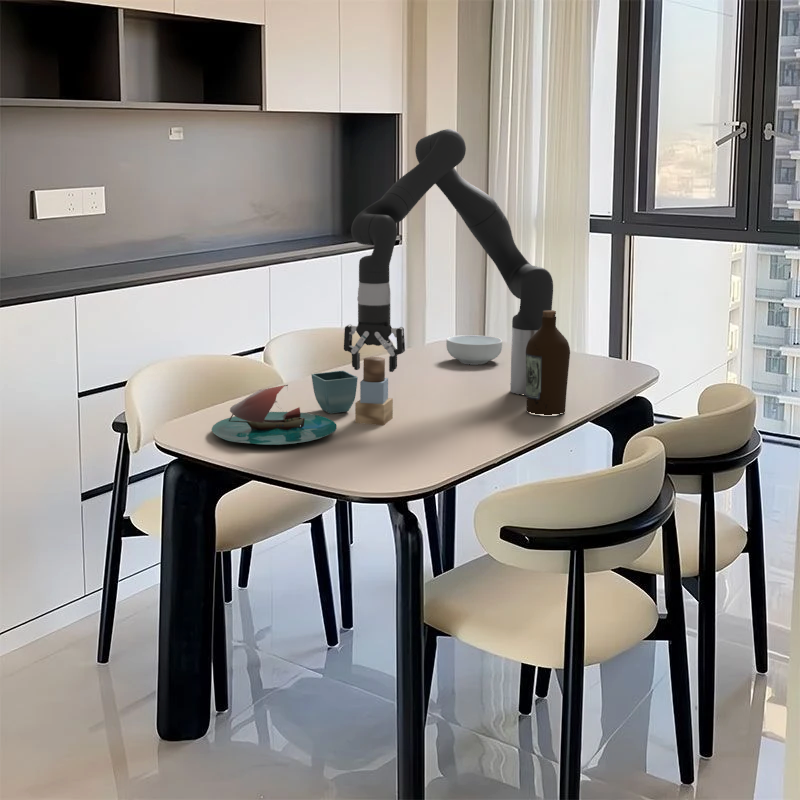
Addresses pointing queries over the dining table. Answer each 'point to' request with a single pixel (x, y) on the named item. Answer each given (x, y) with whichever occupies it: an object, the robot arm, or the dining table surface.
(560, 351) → the olive oil
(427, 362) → the dining table surface
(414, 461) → the dining table surface
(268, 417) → the sailing ship model
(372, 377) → the brown rounded cylinder
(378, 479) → the dining table surface
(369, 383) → the mid block
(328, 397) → the flower pot
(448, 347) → the cereal bowl
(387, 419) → the base block
